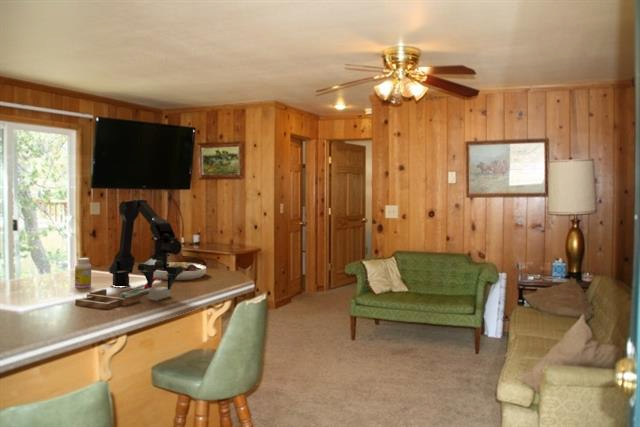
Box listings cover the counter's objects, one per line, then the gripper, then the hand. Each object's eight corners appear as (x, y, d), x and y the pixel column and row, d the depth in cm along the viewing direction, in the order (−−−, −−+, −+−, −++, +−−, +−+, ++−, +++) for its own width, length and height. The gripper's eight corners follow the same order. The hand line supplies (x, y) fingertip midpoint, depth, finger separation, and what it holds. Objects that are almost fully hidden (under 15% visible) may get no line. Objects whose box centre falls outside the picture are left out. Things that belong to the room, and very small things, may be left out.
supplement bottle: (72, 286, 232) (73, 257, 232) (88, 285, 237) (88, 257, 236) (77, 289, 227) (77, 259, 226) (92, 287, 232) (93, 259, 231)
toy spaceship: (137, 305, 211) (137, 293, 211) (111, 303, 213) (111, 290, 213) (168, 288, 238) (168, 277, 238) (145, 286, 240) (145, 275, 240)
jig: (72, 304, 200) (72, 296, 200) (103, 296, 216) (103, 288, 216) (110, 309, 194) (110, 301, 194) (139, 301, 211) (139, 293, 210)
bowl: (134, 275, 266) (134, 260, 266) (180, 269, 291) (180, 255, 290) (172, 284, 249) (172, 268, 249) (217, 277, 274) (218, 262, 273)
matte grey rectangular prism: (148, 299, 215) (148, 290, 214) (161, 295, 223) (162, 286, 223) (156, 300, 213) (156, 291, 213) (169, 296, 222) (170, 287, 222)
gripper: (129, 251, 212) (128, 289, 213) (168, 255, 207) (167, 294, 207) (146, 249, 223) (145, 285, 224) (184, 252, 217) (182, 289, 218)
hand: (159, 288), depth 218 cm, fingers open, 9 cm apart
